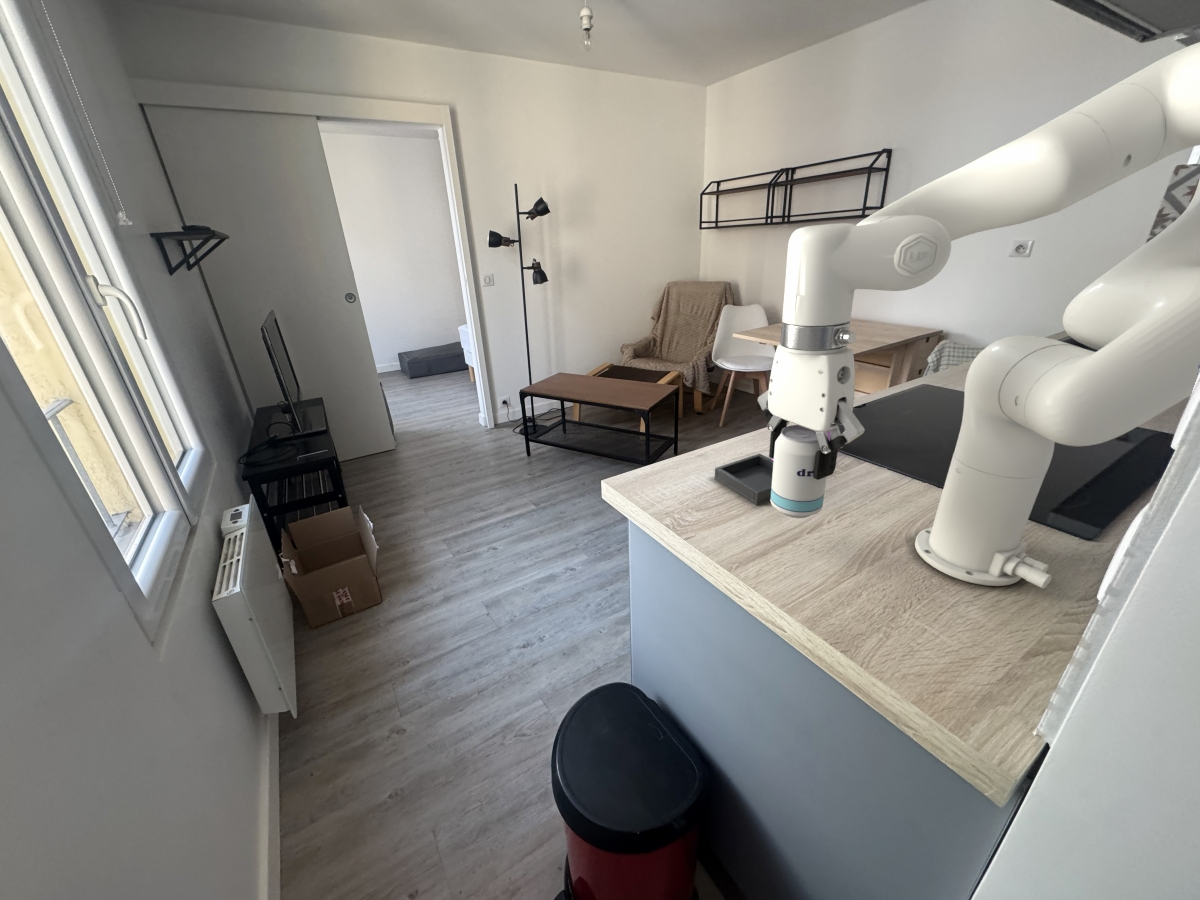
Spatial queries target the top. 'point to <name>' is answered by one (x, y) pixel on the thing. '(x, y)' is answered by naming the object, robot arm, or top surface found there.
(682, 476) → the top surface
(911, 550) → the top surface
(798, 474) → the beverage can
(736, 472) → the tray
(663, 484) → the top surface
